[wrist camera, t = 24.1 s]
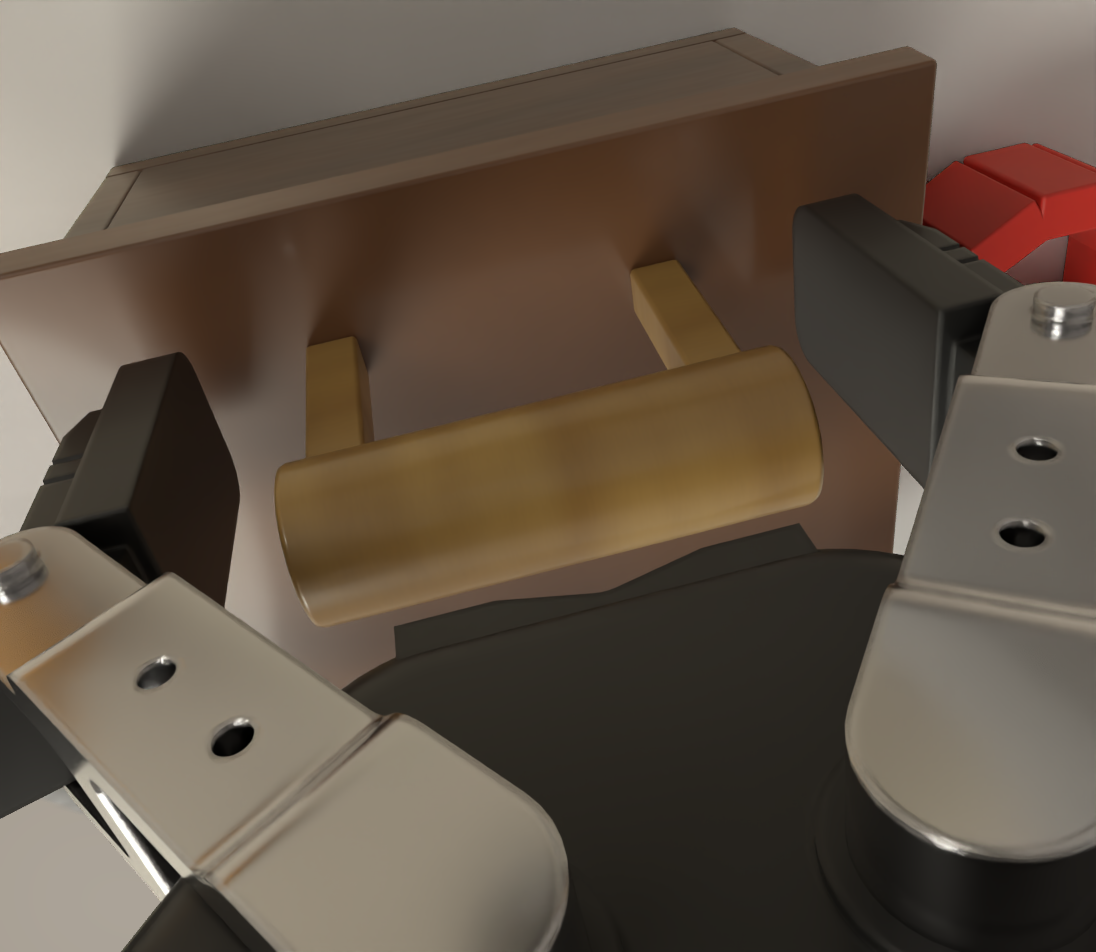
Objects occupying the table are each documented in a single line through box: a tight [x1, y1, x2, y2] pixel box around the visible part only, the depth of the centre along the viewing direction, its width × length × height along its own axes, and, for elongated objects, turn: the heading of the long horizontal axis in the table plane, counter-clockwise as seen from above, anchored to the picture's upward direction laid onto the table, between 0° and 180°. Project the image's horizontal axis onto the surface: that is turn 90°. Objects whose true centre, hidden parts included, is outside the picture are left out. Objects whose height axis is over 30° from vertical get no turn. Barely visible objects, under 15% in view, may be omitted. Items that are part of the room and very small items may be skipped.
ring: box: [922, 143, 1096, 285], centre depth 22 cm, size 6×6×3 cm
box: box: [64, 28, 818, 239], centre depth 21 cm, size 15×12×6 cm
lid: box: [0, 46, 937, 689], centre depth 16 cm, size 16×12×5 cm
